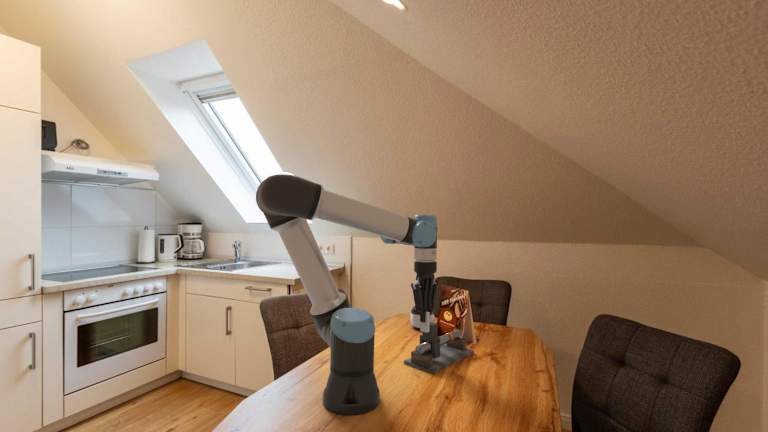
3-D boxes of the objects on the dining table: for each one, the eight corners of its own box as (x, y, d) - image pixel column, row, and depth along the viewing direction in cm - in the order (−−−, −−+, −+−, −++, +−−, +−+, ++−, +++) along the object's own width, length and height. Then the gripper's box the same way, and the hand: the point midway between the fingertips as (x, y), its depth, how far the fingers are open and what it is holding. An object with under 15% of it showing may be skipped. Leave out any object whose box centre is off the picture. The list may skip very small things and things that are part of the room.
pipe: (423, 356, 119) (423, 346, 119) (415, 353, 121) (415, 343, 121) (462, 338, 138) (462, 330, 138) (455, 336, 140) (455, 328, 140)
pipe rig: (433, 374, 116) (433, 360, 116) (403, 363, 124) (404, 350, 124) (473, 353, 135) (473, 340, 135) (445, 345, 143) (446, 333, 143)
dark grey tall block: (434, 358, 121) (435, 326, 122) (419, 353, 126) (419, 322, 126) (440, 356, 124) (440, 324, 124) (424, 351, 128) (425, 320, 128)
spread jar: (411, 330, 161) (412, 304, 161) (407, 323, 172) (408, 298, 172) (438, 330, 162) (439, 304, 162) (433, 323, 173) (433, 298, 174)
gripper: (422, 263, 115) (422, 338, 115) (445, 260, 125) (445, 329, 125) (404, 261, 120) (403, 333, 120) (427, 258, 130) (427, 324, 130)
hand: (424, 331), depth 122 cm, fingers closed
